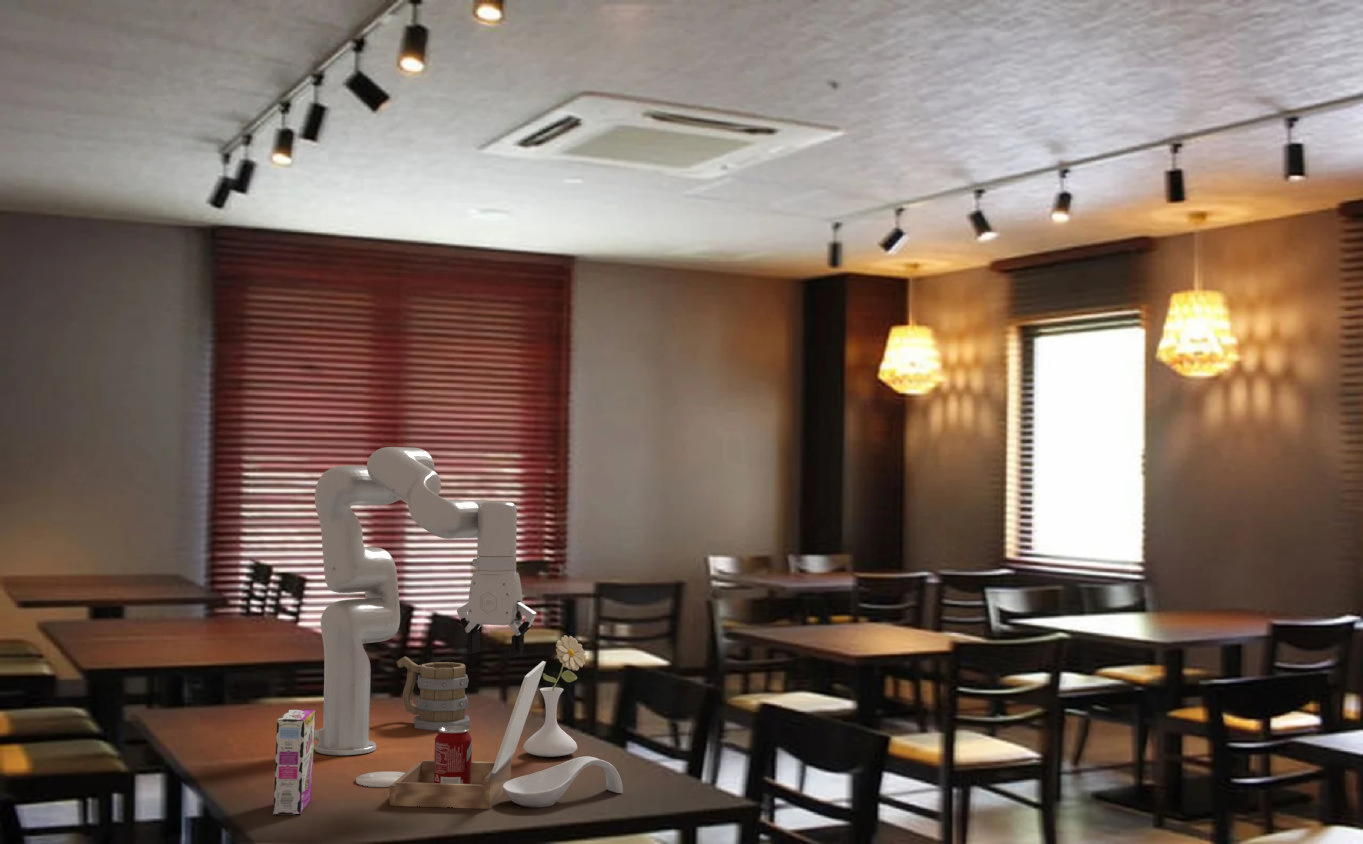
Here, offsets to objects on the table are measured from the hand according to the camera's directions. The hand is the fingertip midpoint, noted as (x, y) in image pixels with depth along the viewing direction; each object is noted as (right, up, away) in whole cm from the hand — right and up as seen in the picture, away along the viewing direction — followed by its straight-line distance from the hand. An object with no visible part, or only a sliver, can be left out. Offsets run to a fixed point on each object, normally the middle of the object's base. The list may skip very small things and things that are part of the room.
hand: (495, 654), depth 272 cm
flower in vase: (+9, -25, +24) cm, 36 cm away
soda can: (-6, -24, -13) cm, 28 cm away
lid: (+6, -9, -13) cm, 17 cm away
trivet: (-21, -24, -3) cm, 32 cm away
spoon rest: (+14, -25, -15) cm, 32 cm away
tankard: (-23, -26, +58) cm, 67 cm away
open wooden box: (-6, -24, -13) cm, 28 cm away
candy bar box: (-32, -23, -25) cm, 47 cm away
